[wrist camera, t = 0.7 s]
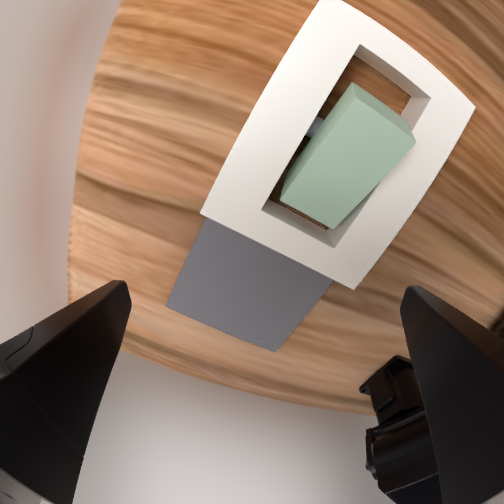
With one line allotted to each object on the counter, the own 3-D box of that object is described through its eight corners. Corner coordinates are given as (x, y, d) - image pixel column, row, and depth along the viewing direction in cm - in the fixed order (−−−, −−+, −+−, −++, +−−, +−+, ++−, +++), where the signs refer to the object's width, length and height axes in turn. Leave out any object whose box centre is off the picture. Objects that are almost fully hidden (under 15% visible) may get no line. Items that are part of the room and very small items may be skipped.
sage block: (405, 120, 15) (416, 142, 13) (334, 201, 21) (332, 229, 19) (352, 81, 14) (355, 97, 13) (286, 173, 20) (279, 200, 18)
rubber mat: (333, 275, 24) (334, 279, 24) (274, 347, 28) (274, 352, 28) (208, 212, 22) (207, 215, 22) (166, 302, 26) (165, 306, 26)
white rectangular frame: (453, 103, 17) (475, 107, 14) (345, 268, 24) (353, 290, 21) (317, 5, 14) (325, -9, 12) (208, 198, 22) (199, 213, 19)
